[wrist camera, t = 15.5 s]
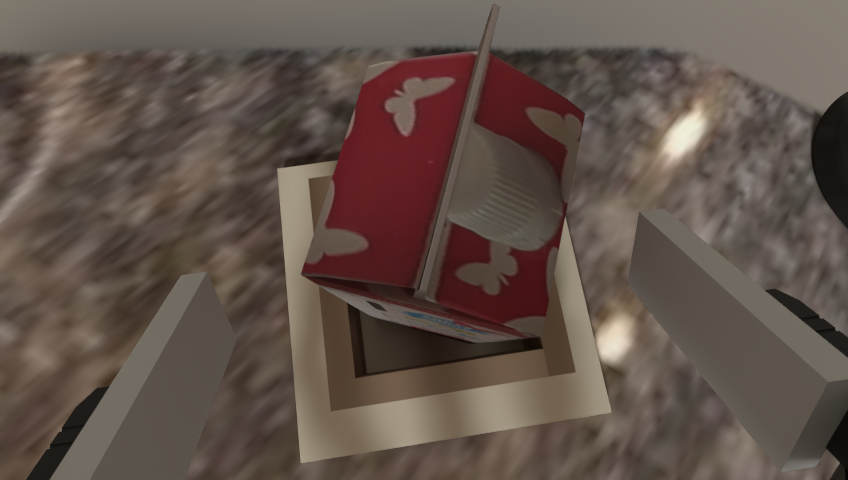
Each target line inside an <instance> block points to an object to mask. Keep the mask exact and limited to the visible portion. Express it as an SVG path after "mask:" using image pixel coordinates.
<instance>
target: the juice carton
mask: <svg viewBox="0 0 848 480" xmlns="http://www.w3.org/2000/svg"><path fill="white" fill-rule="evenodd" d="M499 8H500V7H499V6H497V5H496V4H493V5H492V8H491V11H490V15H489V18H488V21H487V24H486V27H485V30H484V34H483V37H482V40H481V43H480V46H479V50H477V51H469V52H460V53H451V54H443V55H434V56H426V57H417V58H408V59H400V60H391V61H386V62H382V63H378V64H374V65H371V66H369V67H368V70H367V73H366V76H365V79H364V82H363V85H362V88H361V91H360V94H359V97H358V100H357V103H356V106H355V109H354V112H353V116H352V119H351V122H350V125H349V128H348V131H347V134H346V137H345V140H344V143H343V146H342V149H341V152H340V155H339V158H338V161H337V165H336V168H335V171H334V174H333V177H332V180H331V183H330V186H329V189H328V192H327V195H326V198H325V201H324V204H323V207H322V210H321V214H320V217H319V220H318V223H317V226H316V229H315V232H314V235H313V238H312V241H311V244H310V247H309V250H308V253H307V256H306V259H305V263H304V266H303V269H302V272H301V275H302V276H303V277H305V278H307V279H309V280H310V281H312V282H314V283H315V284H317V285H319V286H320V287H322V288H324V289H326V290H327V291H329V292H331V293H332V294H334V295H336V296H337V297H339V298H341V299H343V300H344V301H346V302H348V303H349V304H351V305H353V306H354V307H356V308H358V309H359V310H361V311H363V312H365V313H366V314H368V315H370V316H371V317H373V318H375V319H378V320H382V321H385V322H389V323H393V324H397V325H401V326H404V327H408V328H412V329H416V330H420V331H423V332H427V333H431V334H435V335H439V336H442V337H446V338H450V339H454V340H457V341H461V342H465V343H469V344H478V343H489V342H499V341H510V340H521V339H532V338H542V335H543V330H544V324H545V319H546V314H547V309H548V304H549V298H550V293H551V288H552V283H553V278H554V272H555V267H556V262H557V257H558V252H559V246H560V241H561V236H562V231H563V226H564V220H565V215H566V210H567V205H568V200H569V194H570V189H571V184H572V179H573V174H574V168H575V163H576V158H577V153H578V148H579V142H580V137H581V132H582V127H583V122H584V116H585V113H583V112H582V111H581V110H580V109H579V108H577V107H576V106H575V105H574V104H572V103H571V102H570V101H569V100H568V99H566V98H564V97H563V96H561V95H559V94H558V93H556V92H555V91H553V90H551V89H550V88H548V87H546V86H545V85H543V84H541V83H540V82H538V81H537V80H535V79H533V78H532V77H530V76H528V75H527V74H525V73H523V72H522V71H520V70H518V69H517V68H515V67H514V66H512V65H510V64H509V63H507V62H505V61H504V60H502V59H500V58H498V57H496V56H495V55H493V54H491V52H490V51H489V49H490V45H491V41H492V36H493V33H494V28H495V24H496V21H497V17H498V13H499ZM475 74H476V75H475Z"/></svg>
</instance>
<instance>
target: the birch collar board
mask: <svg viewBox="0 0 848 480" xmlns="http://www.w3.org/2000/svg"><path fill="white" fill-rule="evenodd" d="M337 161H338V160H336V161H329V162H322V163H315V164H308V165H301V166H294V167H287V168H280V169H277V170H278V182H279V195H280V208H281V220H282V233H283V245H284V258H285V270H286V283H287V296H288V308H289V321H290V333H291V346H292V358H293V371H294V384H295V396H296V409H297V421H298V434H299V446H300V459H301V463H305V462H311V461H317V460H323V459H329V458H336V457H342V456H348V455H354V454H360V453H366V452H372V451H378V450H385V449H391V448H397V447H403V446H409V445H415V444H421V443H428V442H434V441H440V440H446V439H452V438H458V437H464V436H471V435H477V434H483V433H489V432H495V431H501V430H507V429H513V428H520V427H526V426H532V425H538V424H544V423H550V422H556V421H563V420H569V419H575V418H581V417H587V416H593V415H599V414H606V413H612V412H611V408H610V404H609V400H608V395H607V391H606V387H605V383H604V378H603V374H602V370H601V366H600V361H599V357H598V353H597V349H596V344H595V340H594V336H593V332H592V327H591V323H590V319H589V315H588V310H587V306H586V302H585V298H584V294H583V289H582V285H581V281H580V277H579V272H578V268H577V264H576V260H575V255H574V251H573V247H572V243H571V238H570V234H569V230H568V226H567V221H566V217H565V220H564V226H563V231H562V236H561V241H560V246H559V252H558V257H557V262H556V267H555V272H554V278H553V283H552V288H551V293H550V298H549V304H548V309H547V314H546V319H545V324H544V330H543V335H542V338H532V339H521V340H510V341H499V342H489V343H478V344H469V343H465V342H461V341H457V340H454V339H450V338H446V337H442V336H439V335H435V334H431V333H427V332H423V331H420V330H416V329H412V328H408V327H404V326H401V325H397V324H393V323H389V322H385V321H382V320H378V319H375V318H373V317H371V316H370V315H368V314H366V313H365V312H363V311H361V310H359V309H358V308H356V307H354V306H353V305H351V304H349V303H348V302H346V301H344V300H343V299H341V298H339V297H337V296H336V295H334V294H332V293H331V292H329V291H327V290H326V289H324V288H322V287H320V286H319V285H317V284H315V283H314V282H312V281H310V280H309V279H307V278H305V277H303V276H302V275H301V272H302V269H303V266H304V263H305V259H306V256H307V253H308V250H309V247H310V244H311V241H312V238H313V235H314V232H315V229H316V226H317V223H318V220H319V217H320V214H321V210H322V207H323V204H324V201H325V198H326V195H327V192H328V189H329V186H330V183H331V180H332V177H333V174H334V171H335V168H336V165H337Z"/></svg>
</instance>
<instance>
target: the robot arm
mask: <svg viewBox="0 0 848 480" xmlns="http://www.w3.org/2000/svg"><path fill="white" fill-rule="evenodd" d="M813 159H814V167H815V172H816V176H817V179H818V182H819V185H820V187H821V190H822V192H823V194H824V196H825V198H826V200H827V202H828V203H829V205H830V207H831V208H832V209H833V211H834V212H835V214H836V215H837V216H838V218H839V219H840V220H841V221H842V222H843V223H844V225H845V226H846V227H847V228H848V92H846V93H845V94H843V95H842V96H840V97H839V98H838V99H837V100H836V101H834V102H833V103H832V104H831V106H830V107H829V108H828V109H827V110H826V112H825V113H824V115H823V116H822V118H821V120H820V122H819V124H818V127H817V130H816V134H815V138H814V146H813ZM628 286H629V287H630V288H631V289H632V290H633V292H634V293H635V294H636V295H637V297H638V298H639V299H640V300H641V302H642V303H643V304H644V305H645V306H646V308H647V309H648V310H649V311H650V313H651V314H652V315H653V316H654V317H655V319H656V320H657V321H658V322H659V324H660V325H661V326H662V327H663V329H664V330H665V331H666V332H667V333H668V335H669V336H670V337H671V338H672V340H673V341H674V342H675V343H676V345H677V346H678V347H679V348H680V349H681V351H682V352H683V353H684V354H685V356H686V357H687V358H688V359H689V360H690V362H691V363H692V364H693V365H694V367H695V368H696V369H697V370H698V372H699V373H700V374H701V375H702V376H703V378H704V379H705V380H706V381H707V383H708V384H709V385H710V386H711V388H712V389H713V390H714V391H715V392H716V394H717V395H718V396H719V397H720V399H721V400H722V401H723V402H724V403H725V405H726V406H727V407H728V408H729V410H730V411H731V412H732V413H733V415H734V416H735V417H736V418H737V419H738V421H739V422H740V423H741V424H742V426H743V427H744V428H745V429H746V431H747V432H748V433H749V434H750V435H751V437H752V438H753V439H754V440H755V442H756V443H757V444H758V445H759V447H760V448H761V449H762V450H763V451H764V453H765V454H766V455H767V456H768V458H769V459H770V460H771V461H772V462H773V464H774V465H775V466H776V467H777V469H778V470H779V471H780V472H785V471H792V470H798V469H805V468H811V467H816V466H817V464H818V462H819V461H820V459H821V457H822V455H823V454H824V452H825V450H826V449H828V450H829V451H830V452H831V453H832V455H833V456H834V457H835V458H836V459H837V460H838V461H839V462H840V464H839V466H838V467H837V469H836V471H835V472H834V474H833V475H832V477H831V478H830V480H848V337H847V336H845V335H844V334H843V333H841V332H840V331H836V330H835V327H834V326H832V325H831V324H830V323H828V322H827V321H826V320H824V319H820V318H819V315H818V314H817V313H815V312H814V311H813V310H811V309H810V308H809V307H808V306H806V305H805V304H804V303H802V302H801V301H800V300H798V299H795V298H793V297H791V296H789V295H787V294H785V293H783V292H781V291H779V290H776V289H770V290H764V289H762V288H761V287H760V286H759V285H757V284H756V283H755V282H754V281H753V280H751V279H750V278H749V277H748V276H746V275H745V274H744V273H743V272H741V271H740V270H739V269H738V268H737V267H735V266H734V265H733V264H732V263H730V262H729V261H728V260H727V259H725V258H724V257H723V256H722V255H720V254H719V253H718V252H717V251H716V250H714V249H713V248H712V247H711V246H709V245H708V244H707V243H706V242H704V241H703V240H702V239H701V238H700V237H698V236H697V235H696V234H695V233H693V232H692V231H691V230H690V229H688V228H687V227H686V226H685V225H684V224H682V223H681V222H680V221H679V220H677V219H676V218H675V217H674V216H672V215H671V214H670V213H669V212H668V211H666V210H665V209H657V210H649V211H642V212H639V217H638V223H637V229H636V235H635V241H634V247H633V253H632V259H631V265H630V272H629V278H628ZM236 341H237V339H236V337H235V335H234V333H233V330H232V328H231V326H230V323H229V321H228V319H227V317H226V314H225V312H224V310H223V307H222V305H221V303H220V300H219V298H218V296H217V294H216V291H215V289H214V287H213V284H212V282H211V280H210V278H209V275H208V273H207V272H202V273H195V274H188V275H181V276H180V278H179V279H178V281H177V283H176V284H175V286H174V287H173V289H172V290H171V292H170V293H169V295H168V297H167V298H166V300H165V301H164V303H163V304H162V306H161V307H160V309H159V311H158V312H157V314H156V315H155V317H154V318H153V320H152V321H151V323H150V325H149V326H148V328H147V329H146V331H145V332H144V334H143V335H142V337H141V339H140V340H139V342H138V343H137V345H136V346H135V348H134V349H133V351H132V353H131V354H130V356H129V357H128V359H127V360H126V362H125V363H124V365H123V367H122V368H121V370H120V371H119V373H118V374H117V376H116V377H115V379H114V381H113V382H112V384H111V385H110V386H108V387H101V388H97V389H96V390H94V391H93V392H92V393H91V394H90V395H89V396H88V397H87V398H86V399H85V400H83V401H82V402H81V403H80V404H79V405H78V406H77V407H76V408H75V409H74V411H73V412H72V414H71V415H70V417H69V418H68V420H67V421H66V423H65V424H64V425H63V427H62V432H59V433H58V434H57V436H56V437H55V438H54V440H53V441H52V443H51V444H50V449H48V450H46V452H45V453H44V454H43V456H42V457H41V459H40V460H39V462H38V463H37V465H36V466H35V467H34V469H33V470H32V472H31V473H30V475H29V476H28V478H27V479H26V480H184V479H185V476H186V473H187V471H188V468H189V465H190V463H191V460H192V457H193V455H194V452H195V449H196V447H197V444H198V441H199V439H200V436H201V434H202V431H203V428H204V426H205V423H206V420H207V418H208V415H209V412H210V410H211V407H212V404H213V402H214V399H215V396H216V394H217V391H218V388H219V386H220V383H221V381H222V378H223V375H224V373H225V370H226V367H227V365H228V362H229V359H230V357H231V354H232V351H233V349H234V346H235V343H236Z"/></svg>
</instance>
